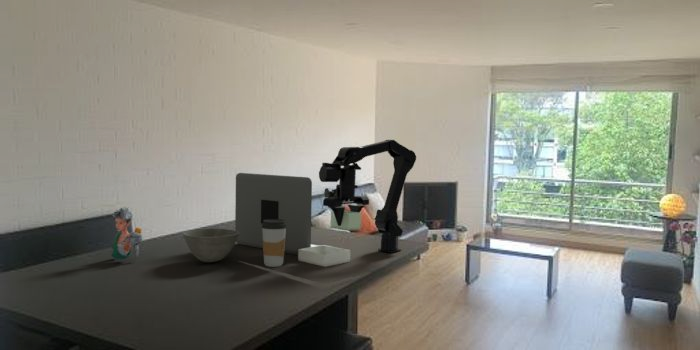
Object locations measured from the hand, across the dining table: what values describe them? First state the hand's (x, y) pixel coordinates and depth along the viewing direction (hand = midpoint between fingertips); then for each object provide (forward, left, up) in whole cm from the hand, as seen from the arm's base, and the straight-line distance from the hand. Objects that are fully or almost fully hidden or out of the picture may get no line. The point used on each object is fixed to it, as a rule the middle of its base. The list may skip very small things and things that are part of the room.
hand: (345, 225), depth 195 cm
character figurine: (+59, -50, -12) cm, 78 cm away
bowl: (+38, -27, -12) cm, 49 cm away
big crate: (+9, -1, -12) cm, 15 cm away
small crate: (0, 0, -1) cm, 1 cm away
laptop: (-1, -29, -12) cm, 31 cm away
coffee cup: (+26, -8, -12) cm, 30 cm away
